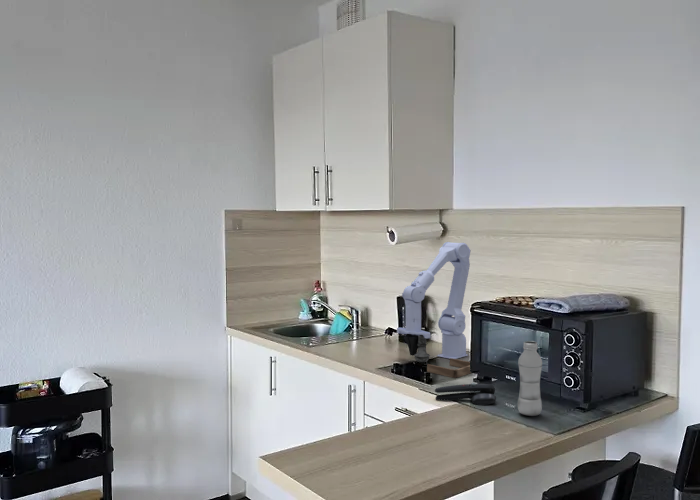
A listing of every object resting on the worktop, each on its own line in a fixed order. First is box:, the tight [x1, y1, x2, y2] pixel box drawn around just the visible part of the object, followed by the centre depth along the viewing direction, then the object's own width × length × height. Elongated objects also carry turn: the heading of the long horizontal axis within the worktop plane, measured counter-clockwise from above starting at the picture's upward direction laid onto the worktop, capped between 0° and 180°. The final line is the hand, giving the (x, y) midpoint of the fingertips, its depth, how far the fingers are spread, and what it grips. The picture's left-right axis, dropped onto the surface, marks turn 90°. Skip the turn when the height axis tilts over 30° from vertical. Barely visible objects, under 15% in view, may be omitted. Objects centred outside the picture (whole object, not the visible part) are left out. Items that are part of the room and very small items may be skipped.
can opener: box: [434, 382, 497, 406], centre depth 185 cm, size 18×7×6 cm, turn 78°
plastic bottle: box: [517, 340, 543, 417], centre depth 171 cm, size 6×7×20 cm
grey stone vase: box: [413, 335, 431, 365], centre depth 229 cm, size 6×6×12 cm
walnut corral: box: [426, 358, 472, 379], centre depth 220 cm, size 14×12×2 cm
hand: (413, 354), depth 233 cm, fingers closed
